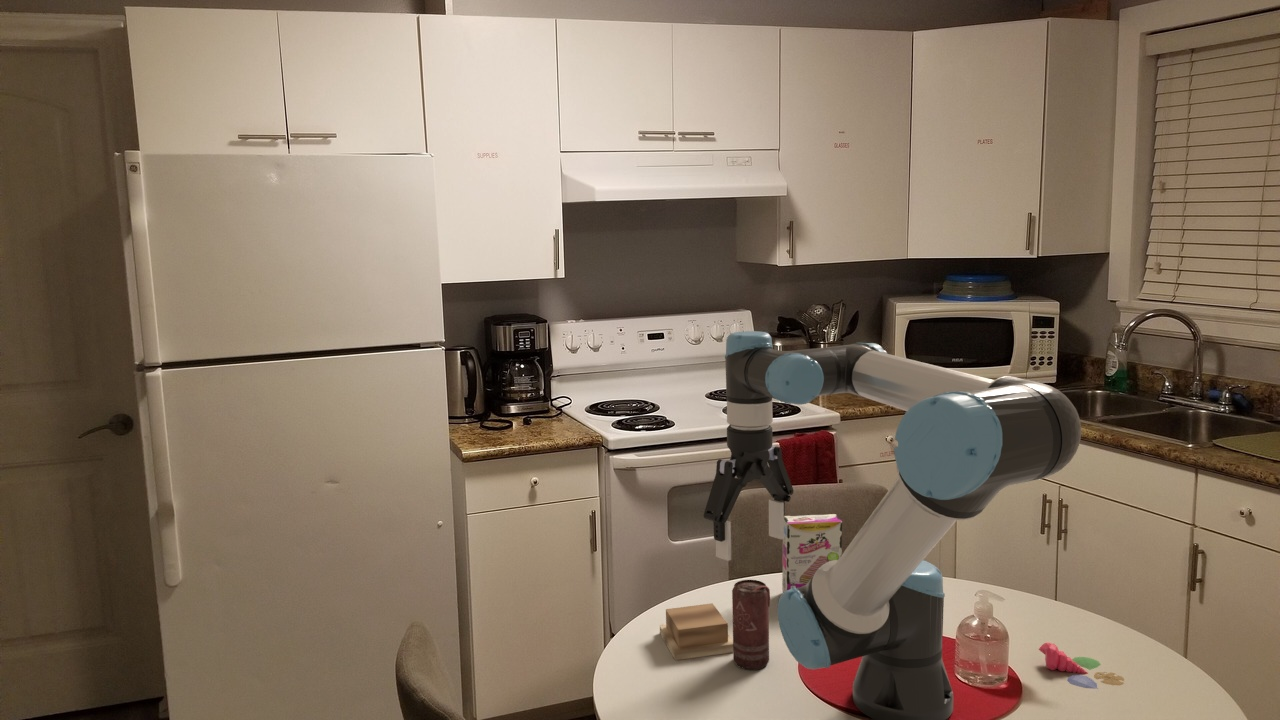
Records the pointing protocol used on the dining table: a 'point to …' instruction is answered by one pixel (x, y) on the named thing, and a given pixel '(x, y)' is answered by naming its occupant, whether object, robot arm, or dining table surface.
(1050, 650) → the toy pieces
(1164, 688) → the dining table surface
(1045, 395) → the robot arm
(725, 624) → the stand
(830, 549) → the candy bar box
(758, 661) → the can
